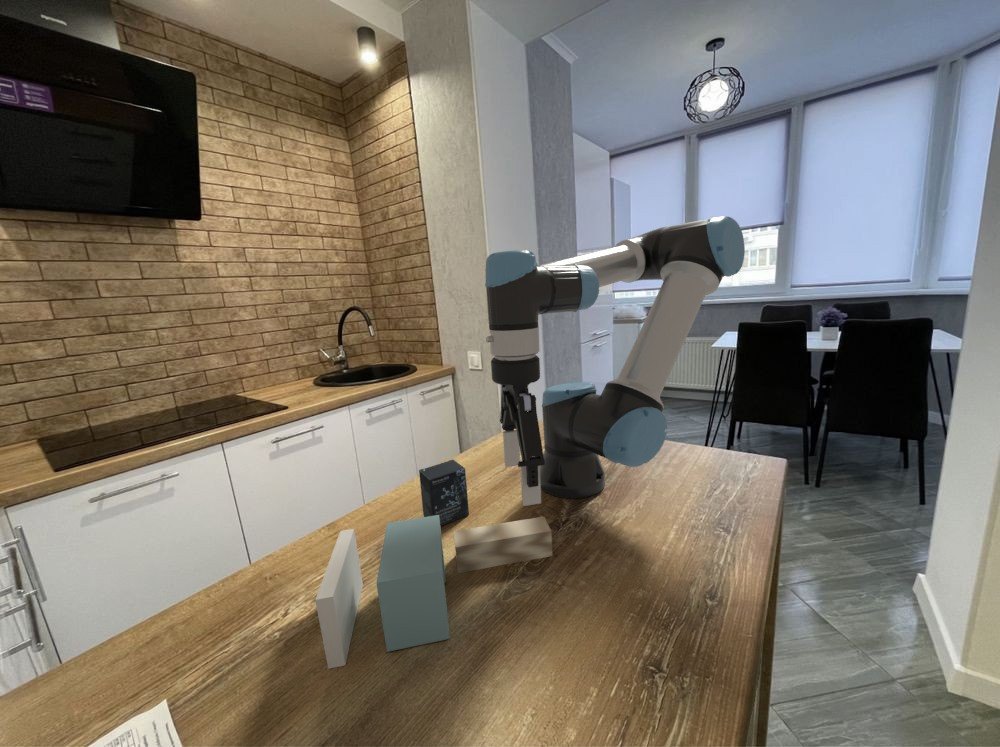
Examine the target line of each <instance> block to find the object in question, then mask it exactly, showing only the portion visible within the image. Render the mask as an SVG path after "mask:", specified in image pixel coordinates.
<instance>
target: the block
mask: <svg viewBox="0 0 1000 747" xmlns="http://www.w3.org/2000/svg"><path fill="white" fill-rule="evenodd" d="M441 527H442V526H440V518H439V515H435V516H428V517H424V516H423V517H418V518H410V519H409V518H408V519H404V520H403V519H402V520H397V521H391V522H390V521H389V522H387V523H386V527H385V533H384V537H383V538H384V539H383V543H382V550H381V555H380V559H379V560H380V561H379V567H378V572H377V578H376V589H377V595H378V596H377V597H378V603H379V608H380V615H381V621H382V629H383V630H382V631H383V634H384V635H383V636H384V643H385V648H386V652H387V653H388V652H392V651H393V652H394V651H397V650H402V649H407V648H413V647H416V646H421V645H427V644H430V643H436V642H440V641H441V642H442V641H446V640H449V639H450V638H451V637H450V624H449V613H448V606H447V605H448V604H447V596H446V588H445V587H446V586H445V583H446V582H447V581H446V580H447V578H446V566H445V558H444V547H443V538H442V529H441Z"/></svg>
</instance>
